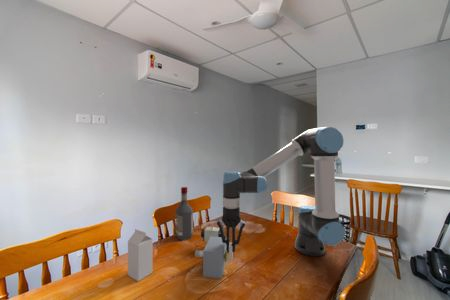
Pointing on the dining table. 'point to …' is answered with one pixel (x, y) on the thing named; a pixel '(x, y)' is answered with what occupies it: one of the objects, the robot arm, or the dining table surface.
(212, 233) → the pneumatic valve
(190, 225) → the liquor
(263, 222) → the dining table surface
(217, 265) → the block
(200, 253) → the pin
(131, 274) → the milk carton
